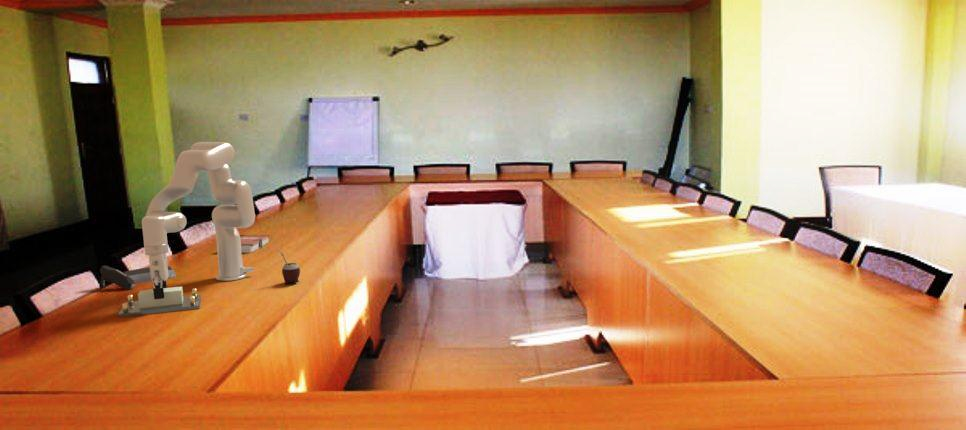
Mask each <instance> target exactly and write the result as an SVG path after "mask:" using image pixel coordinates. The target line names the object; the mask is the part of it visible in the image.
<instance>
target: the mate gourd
mask: <svg viewBox="0 0 966 430" xmlns="http://www.w3.org/2000/svg"><path fill="white" fill-rule="evenodd" d="M275 250H276V251H278V252H279V253H280V254H281V256H282V259H283V260H284V263H285V264H283V266H282V269H281V273H282V274H281V275H282V277H283V279H284V285H291V284H292V285H295V286H296V285H297V283H299V277H300V275H301V270H300V265H298V263H296V262H287V259H286V257H285V253H284V252H282V251H281V250H280V249H278V248H275Z"/></svg>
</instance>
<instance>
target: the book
mask: <svg viewBox="0 0 966 430" xmlns="http://www.w3.org/2000/svg"><path fill="white" fill-rule="evenodd" d="M269 238H270V234H269V235H245V234H240V239H241V253H242V254H252V252H253V253H254V252H256V251H258V250H260V249H262V248H263V247H265V246H266V245H265V244H266V243H268V242H269ZM268 244H269V243H268ZM264 245H265V246H264ZM262 246H263V247H262ZM259 248H260V249H259ZM257 249H258V250H257Z"/></svg>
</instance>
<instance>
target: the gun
mask: <svg viewBox="0 0 966 430" xmlns="http://www.w3.org/2000/svg"><path fill="white" fill-rule="evenodd" d="M99 272H100V274H101V275H100V280H99V281H100V283H99V284H100V287H101V288H102V289H105V288H106V282H108V283H110V284H112V283H113V284H115V285H116V286H117V287H120V288H121V289H123V290H126V291H127V290H132V289H134V288H136V285H135V284H134V280H132V279H131V278H130V277H129V276H127V275H126V274H124V272H122V271H121V270H118V269H116V268H114V267H110V266H108V265H101V266H100V269H99Z"/></svg>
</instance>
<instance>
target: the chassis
mask: <svg viewBox="0 0 966 430" xmlns="http://www.w3.org/2000/svg"><path fill="white" fill-rule="evenodd" d="M191 293H192V295H183V303H182V304H175V305H166V306H157V307H148V308H139V301H138V300H134V298H133V294H128V295H127V301H125V302H124V303H122V304H121V305H122V307H121V308H120V310H119V311H118V313H117V318H124V317H126V318H128V317H134V316H135V317H136V316H144V315H151V314H152V315H153V314H163V313H173V312H182V311H187V310H188V311H189V310H190V311H191V310H198V309H200V308H201V303H202V299H203V298H202V297H203V296H202V294H198V291H197V287H196V288H195V287H194V288H192V289H191Z"/></svg>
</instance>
